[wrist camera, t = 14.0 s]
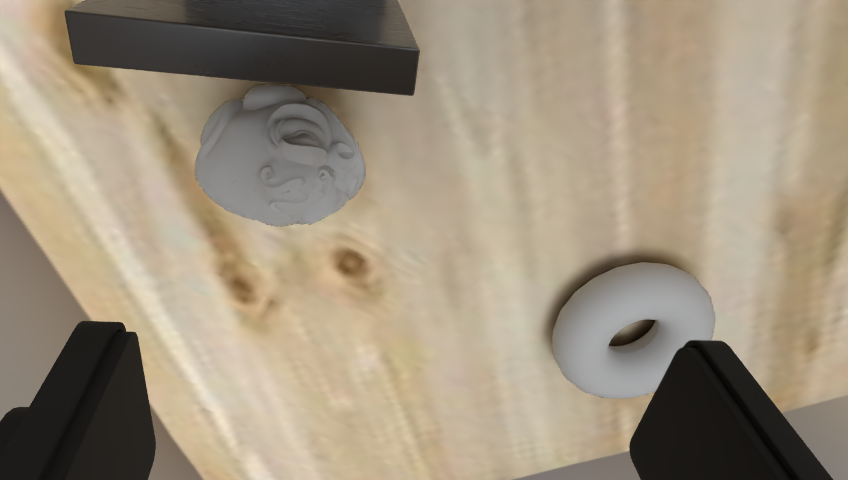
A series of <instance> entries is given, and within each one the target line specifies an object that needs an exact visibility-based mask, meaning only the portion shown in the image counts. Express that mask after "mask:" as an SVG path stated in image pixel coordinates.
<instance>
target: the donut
mask: <svg viewBox="0 0 848 480" xmlns="http://www.w3.org/2000/svg"><path fill="white" fill-rule="evenodd" d="M646 319H651V320H656V321H655V323H654V325H653V327H652V328H651V329H650V330H649V332H648V333H647V334H645V335H644V336H642V337H641V338H640V339H638V340H636V341H634V342H632V343H629V344H627V345H622V346H609V343H610V341H611V339H612V338H613V337H614V335H615V334H616V333H618V332H619V331H620V330H622V329H623V328H625V327H626V326H628V325H630V324H633V323H635V322H637V321H641V320H646ZM714 326H715V313H714V309H713V305H712V301H711V297H710V295H709V294H708V292H707V291H706V290H705V288H704V287H703V286H702V285H701V284H700V283H699V282H698V281H697V280H696V278H695V277H693V276H692V275H691V274H689V273H687V272H685V271H682V270H680V269H678V268H676V267H673V266H671V265H667V264H659V263H646V262H640V263H635V264H630V265H625V266H620V267H616V268H614V269H612V270H610V271H607V272H605V273H603V274H601V275H599V276H596V277H594V278H593V279H592V280H590V281H589V282H588V283H586V284H585V285H584V286H582V287H581V288H580V289H579V290H577V291H576V292H575V293H574V294H573V295H572V297H571V298H570V299H569V300H568V302H567V303H566V304H565V305H564V307H563V308H562V309H561V311H560V314H559V316H558V319H557V322H556V324H555V327H554V330H553V354H554V358H555V360H556V362H557V364H558V366H559V368H560V370H561V372H562V374H563V375H564V376H565V378H566V379H567V380H569V381H570V382H571V383H573V384H574V385H575V386H576V387H578V388H579V389H581V390H582V391H584V392H586V393H589V394H592V395H595V396H599V397H602V398H618V399H628V398H633V397H638V396H643V395H648V394H650V393H653V392H655V391H656V390H657V388H658V386H659V384H660V382H661V380H662V378H663V376H664V374H665V372H666V370H667V369H668V367H669V365H670V363H671V361H672V359H673V357H674V355H675V353H676V352H677V350H678V349H680V348H683V346H684V345H685V344H686V343H687V342H688V341H690V340H710V341H711V340H712V336H713V331H714Z"/></svg>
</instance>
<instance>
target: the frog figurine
mask: <svg viewBox="0 0 848 480" xmlns="http://www.w3.org/2000/svg"><path fill="white" fill-rule="evenodd" d="M195 176H196V180H197V181H198V183H199V185H200V187H201V188H202V189H203V191H204V192H205V193H206V194H207V195H208V196H209V197H210V198H211V199H212V200H213V201H214V202H215V203H217V204H218V205H219V206H221V207H222V208H224V209H225V210H227V211H229V212H231V213H234V214H236V215H239V216H242V217H245V218H249V219H253V220H257V221H260V222H262V223H265V224H267V225H271V226H288V225H293V224H294V223H296V224H309V225H310V224H313V223H315V222H317V221H320V220H322V219H324V218H325V217H327V216H329V215H331V214H333V213H334V212H336V211H338V210H339V209H341V208H342V207H343V206H344V205H345V204H346V202H347V201H348V200H350V199H352V198H353V197H354V196H355V195H356V194H357V192H358V191H359V189H360V188H361V186H362V184H363V181H364V179H365V164H364V159H363V155H362V153H361V150H360V148H359V145H358V143H357V142H356V140H355V138H354V137H353V135H352V134H351V133H350V132H349V130H348V129H347V128H346V127H345V126H344V125H343V124H342V122H341V121H340V120H339V118H338V117H337V116H336V115H335V113H334V112H333V111H332V110H331V109H330V108H329V107H328V106H326V105H325V104H324V103H323V102H322V101H318V100H317V99H315V98H313V97H312V98H309V99H306V96H305V94H304V93H303V92H302V91H301V90H299V89H297V88H294V87H291V86H286V85H274V84H272V85H258V86H255V87H253V88H252V89H250V90H249V91H248V93H247V94H246V96H245V97H243V98H242V99H240V100H231V101H228V102H226V103H224V104H223V105H221V106H220V107H219V108H218V109H217V110H215V111H214V113H213V114H212V115H211V116H210V117H209V119H208V121H207V123H206V124H205V126H204V129H203V132H202V136H201V148H200V150H199V153H198V155H197V158H196V163H195Z"/></svg>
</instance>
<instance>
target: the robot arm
mask: <svg viewBox="0 0 848 480" xmlns="http://www.w3.org/2000/svg"><path fill="white" fill-rule="evenodd" d="M155 445H156V442H155V435H154V429H153V423H152V417H151V411H150V405H149V400H148V394H147V388H146V382H145V376H144V371H143V365H142V359H141V353H140V347H139V341H138V337H137V334H136V333H135V332H126V329H125V326H124V324H123V323H121V322H98V321H82V322H80V323H79V324H78V325H77V326H76V328H75V329H74V331H73V332H72V334H71V336H70V338H69V339H68V341H67V343H66V345H65V346H64V348H63V350H62V352H61V353H60V355H59V357H58V358H57V360H56V362H55V363H54V365H53V367H52V369H51V371H50V372H49V374H48V376H47V377H46V379H45V381H44V382H43V384H42V386H41V388H40V389H39V391H38V393H37V394H36V396H35V398H34V400H33V401H32V403H31V405H30V407H17V408H13V409H12V410H11V411H9V412H8V413H6V415H5V416H4V417H3V419H2V420H1V421H0V480H148V477H149V474H150V471H151V468H152V465H153V461H154V456H155V449H156V446H155ZM630 456H631V459H632V462H633V464H634V466H635V468H636V470H637V472H638V474H639V476H640V479H641V480H833V479H832V478H831V476H830V475H829V474H828V473H827V471H826V470H825V469H824V467H823V466H822V465H821V464H820V462H819V461H818V460H817V458H816V457H815V456H814V455H813V453H812V452H811V451H810V449H809V448H808V447H807V446H806V444H805V443H804V442H803V440H802V439H801V438H800V437H799V435H798V434H797V433H796V431H795V430H794V429H793V428H792V426H791V425H790V424H789V422H788V421H787V420H786V419H785V417H784V416H783V415H782V413H781V412H780V411H779V410H778V408H777V407H776V406H775V404H774V403H773V402H772V401H771V399H770V398H769V397H768V395H767V394H766V393H765V392H764V390H763V389H762V388H761V386H760V385H759V384H758V383H757V381H756V380H755V379H754V377H753V376H752V375H751V374H750V372H749V371H748V370H747V368H746V367H745V366H744V365H743V363H742V362H741V361H740V359H739V358H738V357H737V356H736V354H735V353H734V352H733V350H732V349H731V348H730V347H729V346H728V345H727V344H726V343H725V342H722V341H710V340H690V341H688V342H687V343H686V344H685V345H684V346H683V348H680V349H678V350H677V352H676V353H675V355H674V357H673V359H672V361H671V363H670V365H669V367H668V369H667V370H666V372H665V374H664V376H663V378H662V380H661V382H660V384H659V386H658V388H657V390H656V392H655V394H654V396H653V398H652V400H651V402H650V403H649V405H648V407H647V409H646V411H645V413H644V415H643V417H642V419H641V421H640V423H639V425H638V427H637V429H636V431H635V433H634V434H633V436H632V438H631V441H630Z"/></svg>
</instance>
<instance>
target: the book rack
mask: <svg viewBox="0 0 848 480" xmlns="http://www.w3.org/2000/svg"><path fill="white" fill-rule="evenodd" d="M65 17H66V23H67V28H68V34H69V39H70V45H71V50H72V56H73V61H74V63H75V64H80V65H91V66H101V67H112V68H122V69H133V70H144V71H154V72H165V73H176V74H186V75H197V76H207V77H218V78H229V79H239V80H250V81H260V82H271V83H282V84H292V85H303V86H313V87H324V88H335V89H345V90H356V91H367V92H377V93H388V94H398V95H409V96H412V95H414V92H415V84H416V76H417V69H418V61H419V53H420V50H419V47H418V45H417V43H416V41H415V38H414V36H413V34H412V32H411V29H410V27H409V25H408V23H407V20H406V18H405V16H404V14H403V11H402V9H401V7H400V5H399V2H398V0H84V1H82V2H81V3H79V4H77V5H75V6H73V7H71V8H69V9H67V10H65Z"/></svg>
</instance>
